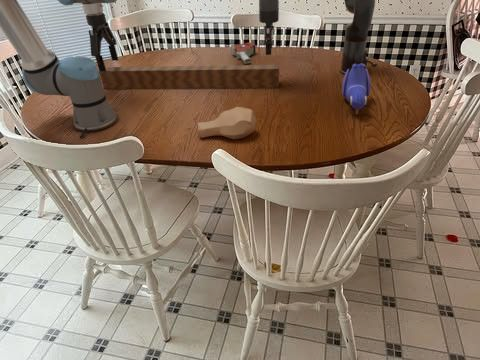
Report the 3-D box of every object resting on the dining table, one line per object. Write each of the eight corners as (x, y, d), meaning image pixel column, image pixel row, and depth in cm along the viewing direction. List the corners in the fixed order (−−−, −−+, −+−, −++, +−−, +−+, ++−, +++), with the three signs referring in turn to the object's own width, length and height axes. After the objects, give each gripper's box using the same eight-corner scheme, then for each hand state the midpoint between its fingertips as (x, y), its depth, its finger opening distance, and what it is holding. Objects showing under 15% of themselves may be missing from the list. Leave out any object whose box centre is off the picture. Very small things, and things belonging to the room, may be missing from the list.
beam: (104, 88, 161) (98, 71, 156) (108, 84, 165) (103, 67, 160) (278, 87, 151) (278, 68, 146) (278, 83, 155) (279, 64, 150)
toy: (340, 103, 144) (343, 119, 122) (342, 60, 138) (346, 69, 115) (366, 103, 142) (373, 119, 120) (369, 59, 135) (378, 68, 113)
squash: (259, 140, 116) (255, 118, 110) (200, 150, 118) (193, 129, 112) (256, 120, 124) (253, 99, 117) (201, 130, 126) (194, 109, 119)
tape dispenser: (247, 68, 177) (266, 54, 190) (247, 57, 174) (266, 44, 186) (218, 62, 185) (238, 48, 197) (217, 52, 181) (238, 39, 194)
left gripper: (89, 21, 134) (105, 75, 147) (115, 6, 154) (127, 56, 166) (71, 21, 135) (88, 76, 148) (99, 7, 155) (112, 56, 167)
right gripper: (278, 11, 129) (277, 56, 139) (279, 4, 141) (278, 46, 150) (257, 12, 130) (258, 57, 140) (260, 4, 142) (261, 46, 151)
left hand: (109, 65), depth 157 cm, fingers open, 13 cm apart
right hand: (269, 51), depth 145 cm, fingers open, 8 cm apart
